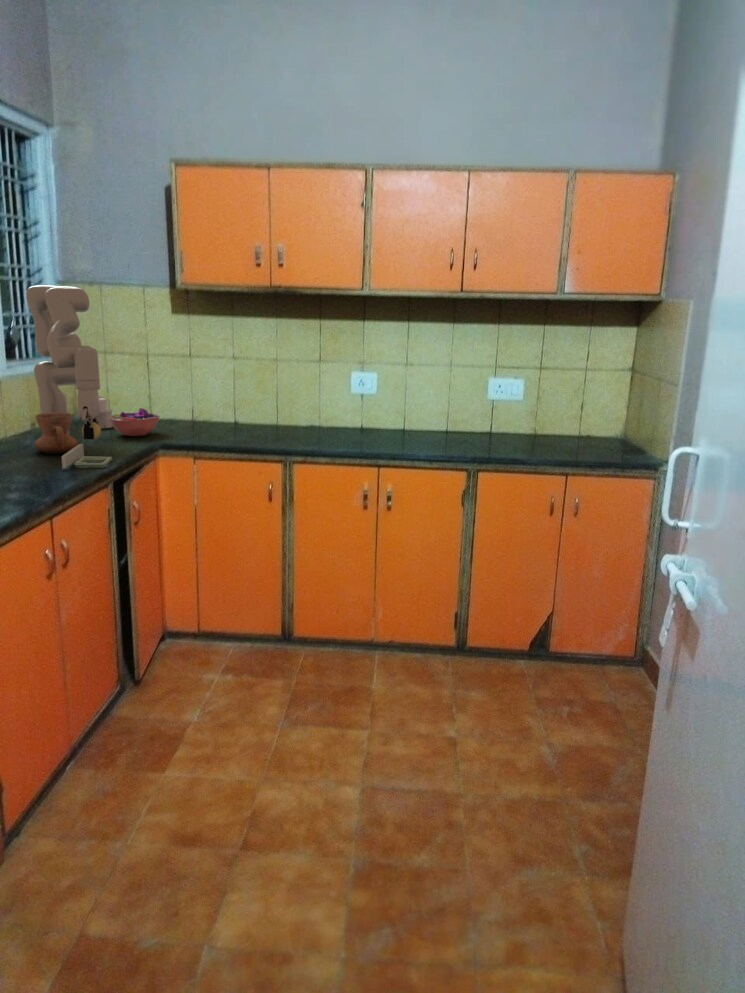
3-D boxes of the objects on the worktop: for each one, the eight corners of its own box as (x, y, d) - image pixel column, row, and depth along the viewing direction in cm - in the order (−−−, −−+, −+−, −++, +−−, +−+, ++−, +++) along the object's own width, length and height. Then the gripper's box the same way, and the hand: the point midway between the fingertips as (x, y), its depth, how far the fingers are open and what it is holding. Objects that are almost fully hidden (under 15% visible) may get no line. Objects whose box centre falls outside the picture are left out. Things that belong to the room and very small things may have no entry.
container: (88, 426, 304) (86, 397, 300) (105, 424, 309) (103, 396, 305) (95, 429, 298) (93, 399, 295) (112, 427, 303) (110, 398, 300)
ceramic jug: (32, 448, 258) (29, 411, 254) (73, 446, 266) (71, 409, 262) (39, 459, 244) (35, 420, 240) (82, 456, 251) (79, 417, 247)
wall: (80, 457, 249) (79, 443, 248) (84, 457, 249) (83, 443, 248) (62, 470, 230) (61, 456, 229) (66, 470, 230) (65, 456, 229)
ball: (85, 437, 239) (84, 420, 238) (103, 437, 240) (102, 420, 238) (80, 440, 233) (79, 423, 232) (98, 440, 234) (97, 423, 233)
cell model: (104, 434, 289) (103, 407, 286) (150, 430, 302) (149, 404, 299) (120, 441, 277) (118, 414, 274) (167, 436, 290) (165, 410, 287)
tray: (83, 461, 244) (82, 456, 243) (112, 461, 245) (111, 456, 244) (74, 468, 234) (74, 462, 234) (104, 468, 235) (104, 463, 235)
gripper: (84, 381, 239) (88, 432, 244) (68, 387, 223) (72, 442, 228) (106, 382, 240) (109, 432, 245) (92, 388, 224) (96, 442, 229)
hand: (91, 436), depth 236 cm, fingers closed on ball, 5 cm apart
